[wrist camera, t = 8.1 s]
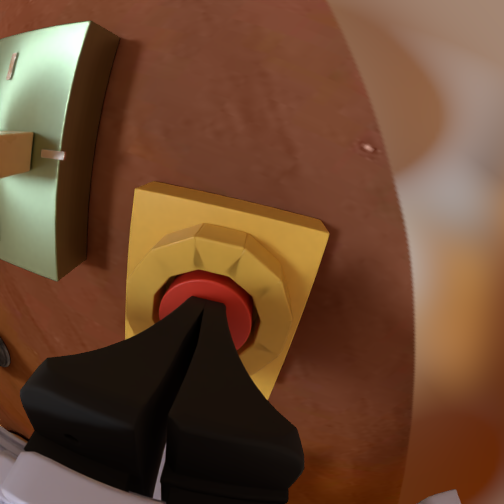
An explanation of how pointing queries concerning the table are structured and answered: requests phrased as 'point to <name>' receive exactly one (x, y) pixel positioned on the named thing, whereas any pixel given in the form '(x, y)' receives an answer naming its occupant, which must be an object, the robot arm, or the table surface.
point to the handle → (15, 152)
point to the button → (213, 299)
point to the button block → (225, 263)
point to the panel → (52, 141)
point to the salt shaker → (4, 355)
